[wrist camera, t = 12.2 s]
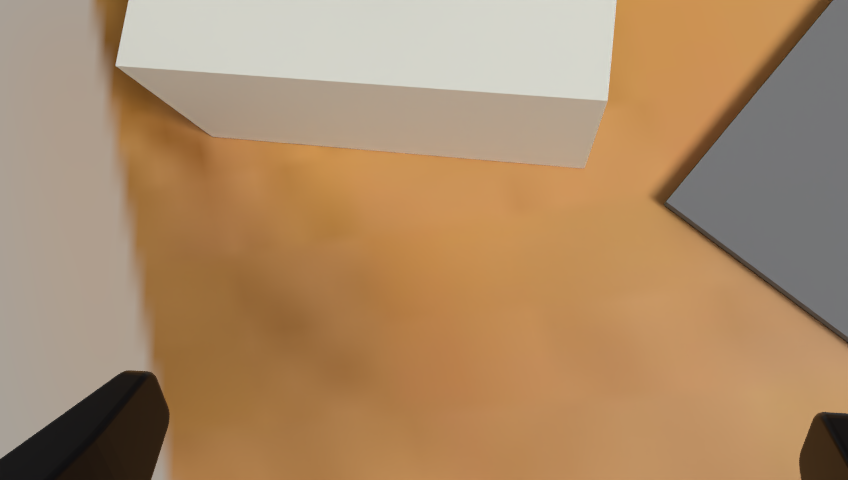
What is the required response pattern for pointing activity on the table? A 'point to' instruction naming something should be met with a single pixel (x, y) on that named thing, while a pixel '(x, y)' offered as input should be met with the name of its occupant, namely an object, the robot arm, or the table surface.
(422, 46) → the cover
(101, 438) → the robot arm
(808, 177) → the mat
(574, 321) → the table surface
